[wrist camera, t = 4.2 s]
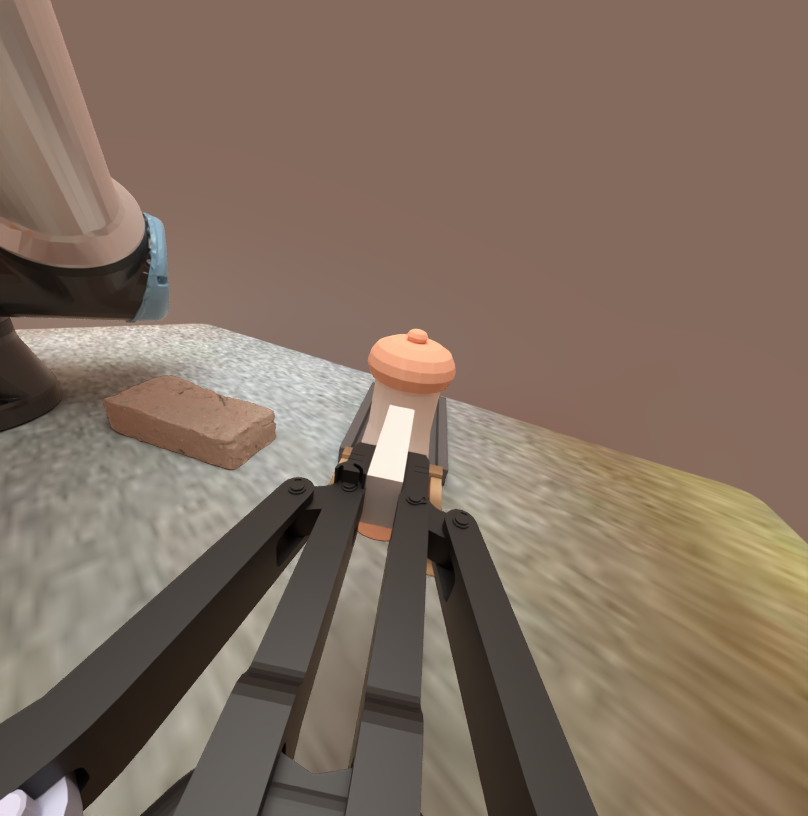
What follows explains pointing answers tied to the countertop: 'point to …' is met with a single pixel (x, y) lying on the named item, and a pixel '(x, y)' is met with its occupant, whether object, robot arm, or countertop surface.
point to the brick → (192, 421)
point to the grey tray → (437, 433)
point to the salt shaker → (406, 392)
